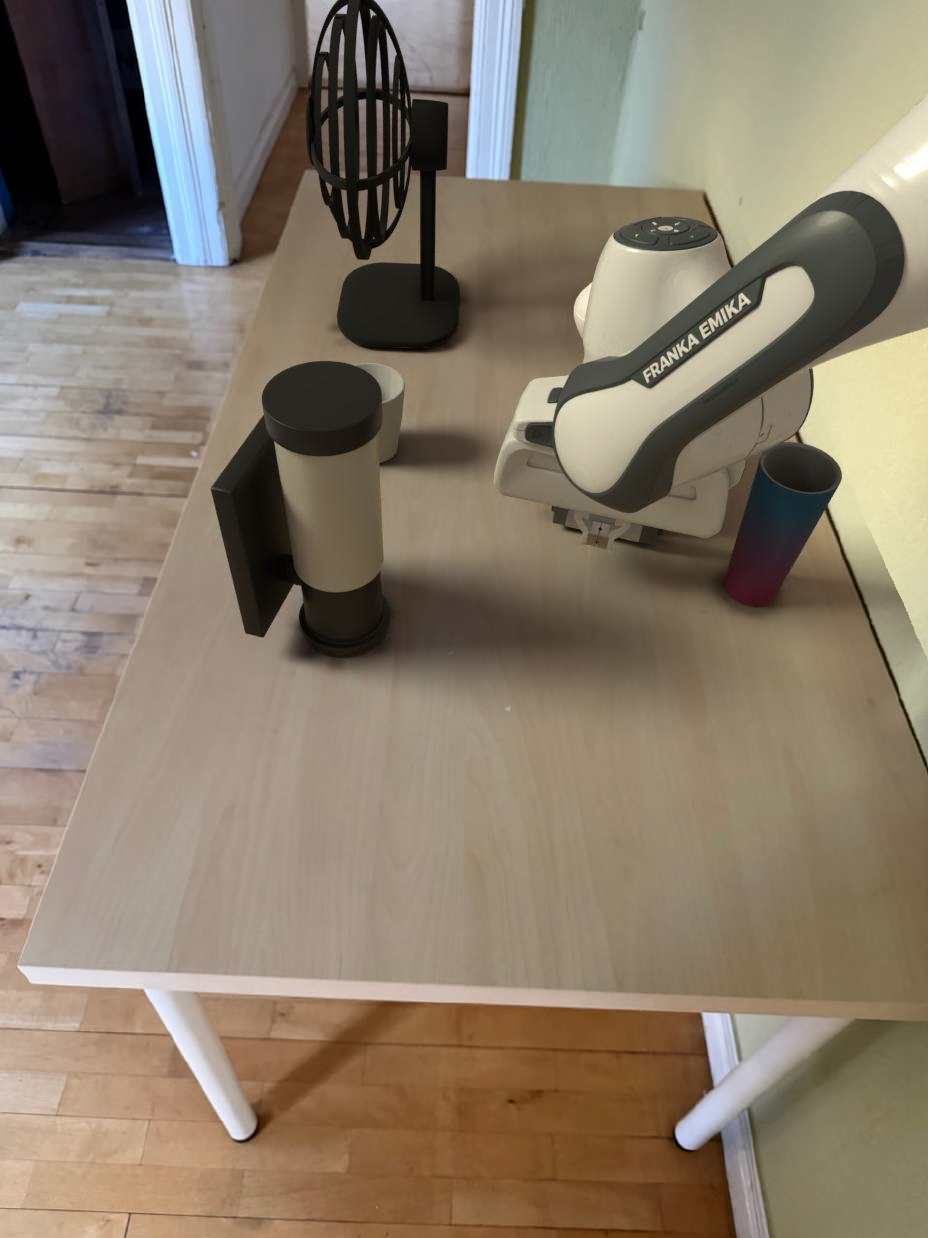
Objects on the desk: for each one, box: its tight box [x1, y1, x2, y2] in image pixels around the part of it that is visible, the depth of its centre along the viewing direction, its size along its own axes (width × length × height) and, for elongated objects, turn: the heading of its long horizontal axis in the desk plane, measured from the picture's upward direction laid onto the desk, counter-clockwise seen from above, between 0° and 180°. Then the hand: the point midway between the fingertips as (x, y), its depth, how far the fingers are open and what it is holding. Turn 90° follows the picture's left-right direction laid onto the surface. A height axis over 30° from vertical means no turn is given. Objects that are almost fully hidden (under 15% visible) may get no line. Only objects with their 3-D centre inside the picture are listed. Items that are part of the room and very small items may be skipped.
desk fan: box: [305, 0, 461, 349], centre depth 102 cm, size 27×18×35 cm, turn 179°
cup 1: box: [353, 362, 406, 464], centre depth 93 cm, size 8×10×8 cm
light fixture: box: [210, 360, 391, 658], centre depth 71 cm, size 12×11×25 cm
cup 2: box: [723, 441, 843, 608], centre depth 79 cm, size 7×7×15 cm
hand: (597, 542), depth 81 cm, fingers closed
